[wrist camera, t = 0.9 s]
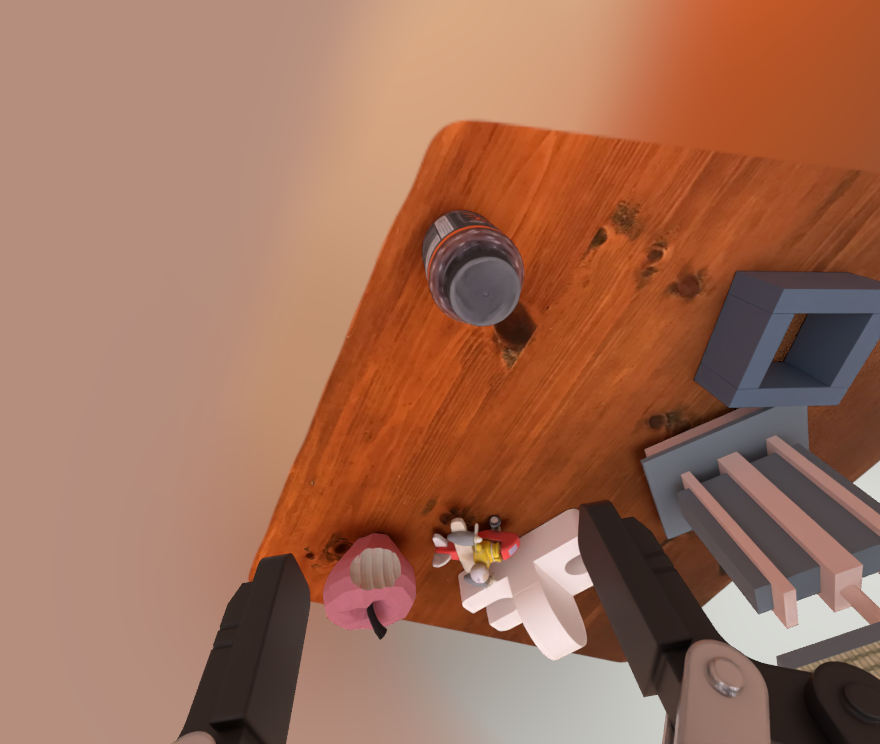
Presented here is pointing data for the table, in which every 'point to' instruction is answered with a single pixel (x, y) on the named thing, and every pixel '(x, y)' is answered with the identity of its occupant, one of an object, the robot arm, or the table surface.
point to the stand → (814, 350)
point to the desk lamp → (774, 522)
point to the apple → (370, 586)
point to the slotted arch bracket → (538, 588)
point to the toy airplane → (475, 549)
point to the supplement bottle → (472, 268)
